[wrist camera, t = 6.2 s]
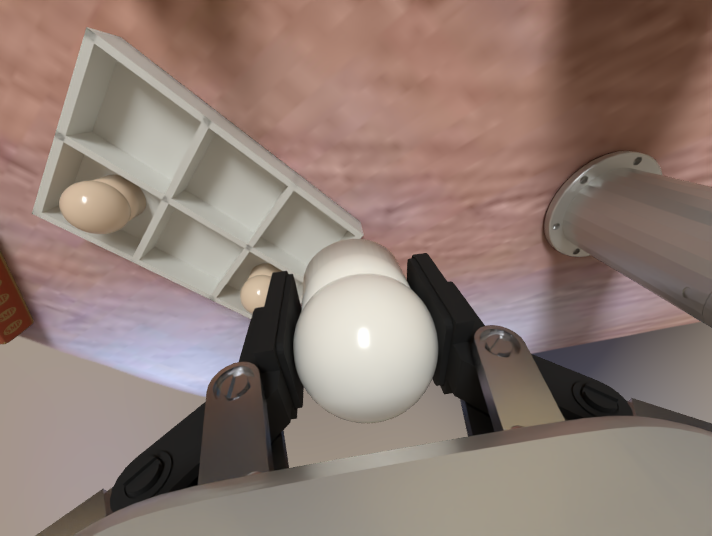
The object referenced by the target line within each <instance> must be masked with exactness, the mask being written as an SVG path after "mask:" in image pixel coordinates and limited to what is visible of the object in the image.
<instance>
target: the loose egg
mask: <svg viewBox="0 0 712 536" xmlns="http://www.w3.org/2000/svg"><path fill="white" fill-rule="evenodd" d="M293 356H294V361H295V367H296V370H297V373H298V376H299V378H300V381H301V383H302V384H303V386H304V388H305V389H306V391H307V392H308V394H309V395H310V396H311V397H312V399H313V400H314V401H315V402H316V403H317V404H319V405H320V406H321V407H322V408H323V409H325V410H326V411H327V412H329V413H331V414H333V415H335V416H336V417H339V418H341V419H344V420H347V421H351V422H356V423H376V422H382V421H386V420H388V419H391V418H394V417H396V416H398V415H400V414H402V413H404V412H405V411H407V410H408V409H409V408H410V407H412V406H413V405H414V404H415V403H416V402H417V401H418V400H419V399H420V397H421V396H422V395H423V394H424V393H425V391H426V389H427V388H428V386H429V384H430V382H431V380H432V378H433V376H434V372H435V369H436V365H437V360H438V338H437V332H436V328H435V325H434V322H433V319H432V317H431V314H430V312H429V311H428V309H427V307H426V306H425V304H424V303H423V301H422V300H421V299H420V298H419V297H418V295H417V294H416V293H415V292H414V291H413V290H411V288H410V286H409V284H408V282H407V280H406V278H405V276H404V274H403V272H402V270H401V268H400V266H399V264H398V262H397V260H396V259H395V257H394V256H393V254H392V253H391V252H390V251H389V250H388V249H386V248H385V247H384V246H382V245H380V244H378V243H376V242H373V241H370V240H365V239H347V240H341V241H338V242H335V243H333V244H330V245H328V246H327V247H325V248H323V249H322V250H321V251H319V252H318V253H317V254H316V255H315V256H314V257H313V258H312V260H311V261H310V262H309V264H308V266H307V268H306V270H305V273H304V279H303V295H302V312H301V314H300V316H299V319H298V321H297V324H296V328H295V333H294V338H293Z"/></svg>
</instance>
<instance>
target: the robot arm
mask: <svg viewBox="0 0 712 536" xmlns="http://www.w3.org/2000/svg"><path fill="white" fill-rule="evenodd" d="M544 227H545V235H546V239H547V240H548V242H549V244H550V245H551V246H552V247H553V248H555V249H556V250H557V251H559V252H561V253H562V254H565V255H568V256H573V257H583V256H590V255H592V256H593V257H595V258H596V259H598V260H600V261H601V262H603V263H605V264H606V265H608V266H610V267H611V268H613V269H615V270H616V271H618V272H620V273H621V274H623V275H625V276H626V277H628V278H630V279H631V280H633V281H635V282H636V283H638V284H640V285H641V286H643V287H645V288H646V289H648V290H650V291H651V292H653V293H655V294H656V295H658V296H660V297H661V298H663V299H665V300H666V301H668V302H669V303H671V304H673V305H674V306H676V307H678V308H679V309H681V310H683V311H684V312H686V313H688V314H689V315H691V316H693V317H694V318H696V319H698V320H699V321H701V322H703V323H704V324H706V325H708V326H710V327H711V328H712V187H710V186H706V185H701V184H697V183H693V182H689V181H684V180H680V179H676V178H672V177H667V176H663V175H662V171H661V168H660V166H659V164H658V163H657V161H656V160H655V159H653V158H652V157H651V156H649V155H646V154H643V153H640V152H633V151H619V152H614V153H610V154H607V155H604V156H602V157H599V158H597V159H595V160H593V161H591V162H590V163H588V164H587V165H585V166H583V167H582V168H581V169H579V170H578V171H577V172H576V173H574V174H573V175H572V176H571V177H570V178H569V179H568V180H567V181H566V182H565V183H564V184H563V185H562V187H561V188H560V189H559V191H558V192H557V193H556V195H555V197H554V198H553V200H552V202H551V204H550V206H549V208H548V211H547V214H546V218H545V223H544ZM407 282H408V284H409V286H410V288H411V290H413V291H414V292H415V293H416V294H417V295H418V297H419V298H420V299H421V300H422V301H423V303H424V304H425V306H426V307H427V309H428V311H429V312H430V314H431V317H432V319H433V322H434V325H435V328H436V332H437V338H438V360H437V365H436V369H435V372H434V376H433V381H434V383H435V385H436V386H438V385H440V386H441V388H442V391H443V393H444V394H449V393H453V394H454V396H456V397H458V398H460V401H461V406H462V411H463V415H464V420H465V425H466V429H467V434H468V437H463V438H458V439H452V440H446V441H440V442H434V443H428V444H423V445H417V446H411V447H405V448H400V449H394V450H388V451H383V452H377V453H371V454H366V455H360V456H354V457H348V458H343V459H337V460H332V461H326V462H320V463H315V464H309V465H304V466H299V467H293V468H289V465H288V457H287V451H286V444H285V437H284V431H283V430H284V428H286V427H287V425H288V424H289V423H290V421H291V419H296V418H297V408H302V406H303V389H304V386H303V384H302V383H301V381H300V378H299V376H298V373H297V370H296V367H295V361H294V356H293V338H294V333H295V328H296V324H297V321H298V319H299V316H300V314H301V312H302V308H301V304H300V300H299V296H298V291H297V287H296V283H295V279H294V275H293V274H288V271H281V272H273V273H272V276H271V280H270V284H269V288H268V293H267V297H266V301H265V305H264V307H258V308H255V309H254V311H253V314H252V318H251V321H250V325H249V328H248V332H247V335H246V338H245V342H244V345H243V349H242V352H241V356H240V359H239V362H238V363H233V364H231V365H229V366H227V367H225V368H224V369H222V370H221V371H219V372H218V373H217V374H216V375H215V376H214V377H213V378H212V380H211V382H210V383H209V385H208V389H207V393H206V402H205V403H204V404H202V405H201V406H200V407H198V408H197V409H196V410H195V411H194V412H192V413H191V414H190V415H189V416H187V417H186V418H185V419H184V420H182V421H181V422H180V423H179V424H177V425H176V426H175V427H174V428H172V429H171V430H170V431H169V432H167V433H166V434H165V435H164V436H163V437H161V438H160V439H159V440H158V441H156V442H155V443H154V444H153V445H151V446H150V447H149V448H148V449H146V450H145V451H144V452H143V453H141V454H140V455H139V456H138V457H137V458H135V459H134V460H133V461H132V462H131V463H130V464H129V465H128V466H127V467H126V468H125V469H124V471H123V472H122V473H121V475H120V476H119V477H118V479H117V481H116V483H115V485H114V487H112V488H111V489H110V490H108V491H106V490H104V489H102V490H100V491H99V492H98V493H96V494H95V495H93V496H92V497H91V498H89V499H87V500H86V501H85V502H83V503H82V504H80V505H79V506H77V507H76V508H74V509H73V510H72V511H70V512H69V513H67V514H66V515H64V516H63V517H62V518H60V519H59V520H57V521H56V522H55V523H53V524H52V525H50V526H49V527H47V528H46V529H44V530H43V531H41V532H40V533H39V534H37V535H36V536H712V424H711V423H708V422H705V421H702V420H699V419H696V418H693V417H689V416H686V415H683V414H680V413H677V412H674V411H671V410H667V409H664V408H661V407H658V406H655V405H652V404H649V403H646V402H643V401H639V400H636V399H633V398H631V399H630V400H629V401H626V400H625V399H624V398H623V397H622V396H621V395H620V394H619V393H618V392H616V391H615V390H614V389H612V388H611V387H609V386H607V385H605V384H603V383H601V382H599V381H597V380H594V379H592V378H590V377H587V376H585V375H582V374H580V373H577V372H574V371H572V370H570V369H567V368H564V367H562V366H560V365H557V364H555V363H552V362H550V361H547V360H545V359H542V358H540V357H537V356H535V355H532V354H531V353H530V351H529V350H528V348H527V346H526V344H525V342H524V341H523V339H522V338H521V337H520V336H519V335H517V334H516V333H515V332H513V331H511V330H509V329H507V328H504V327H501V326H495V325H489V326H485V325H484V324H483V322H482V321H481V320H480V318H479V317H478V316H477V314H476V313H475V312H474V310H473V309H472V307H471V306H470V305H469V303H468V302H467V301H466V299H465V298H464V297H463V295H462V294H461V292H460V291H459V290H458V288H457V287H456V286H455V284H454V283H453V282H447V281H446V279H445V278H444V276H443V275H442V273H441V272H440V271H439V269H438V268H437V266H436V265H435V264H434V262H433V261H432V259H431V258H430V256H429V255H428V254H427V253H423V254H415V255H412V258H411V259H408V262H407Z"/></svg>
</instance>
